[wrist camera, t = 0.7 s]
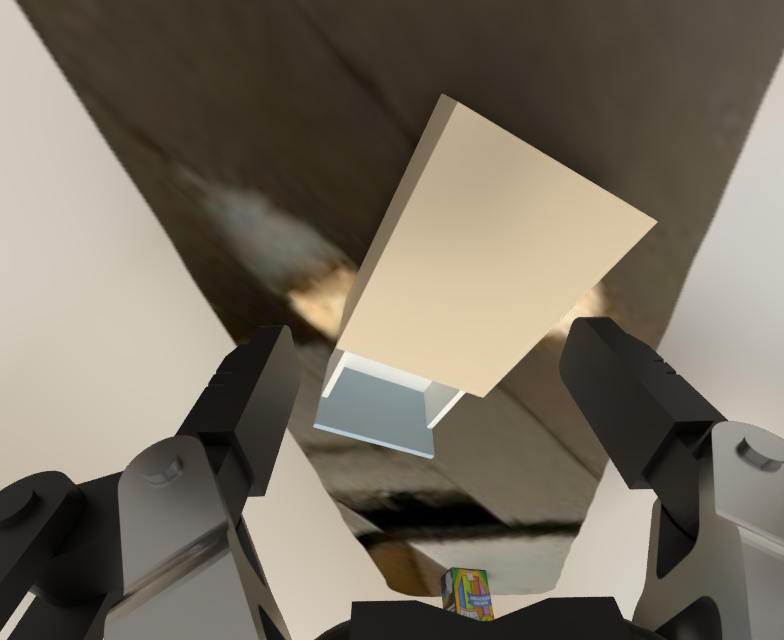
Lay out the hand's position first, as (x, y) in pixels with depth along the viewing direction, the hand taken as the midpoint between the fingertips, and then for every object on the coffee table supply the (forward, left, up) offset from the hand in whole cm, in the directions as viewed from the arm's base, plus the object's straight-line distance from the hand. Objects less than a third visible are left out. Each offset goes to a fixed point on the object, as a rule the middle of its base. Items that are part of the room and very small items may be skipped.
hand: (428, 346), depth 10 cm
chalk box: (+77, +55, -19) cm, 97 cm away
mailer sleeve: (+3, +7, -19) cm, 21 cm away
